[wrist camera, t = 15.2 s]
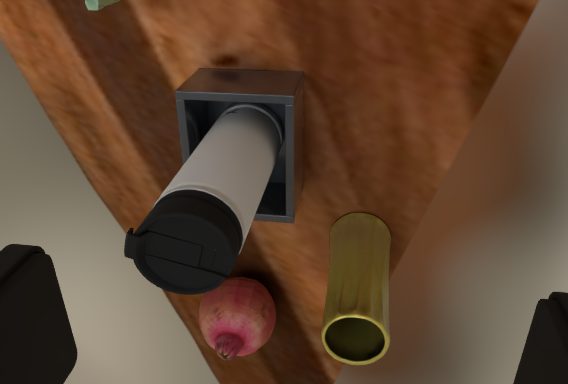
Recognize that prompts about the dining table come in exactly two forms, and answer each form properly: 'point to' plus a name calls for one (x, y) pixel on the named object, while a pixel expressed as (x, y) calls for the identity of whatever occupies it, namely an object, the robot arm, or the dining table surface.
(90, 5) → the rack
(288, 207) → the dark grey storage box
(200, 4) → the dining table surface
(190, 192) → the travel mug
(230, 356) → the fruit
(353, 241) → the vase
